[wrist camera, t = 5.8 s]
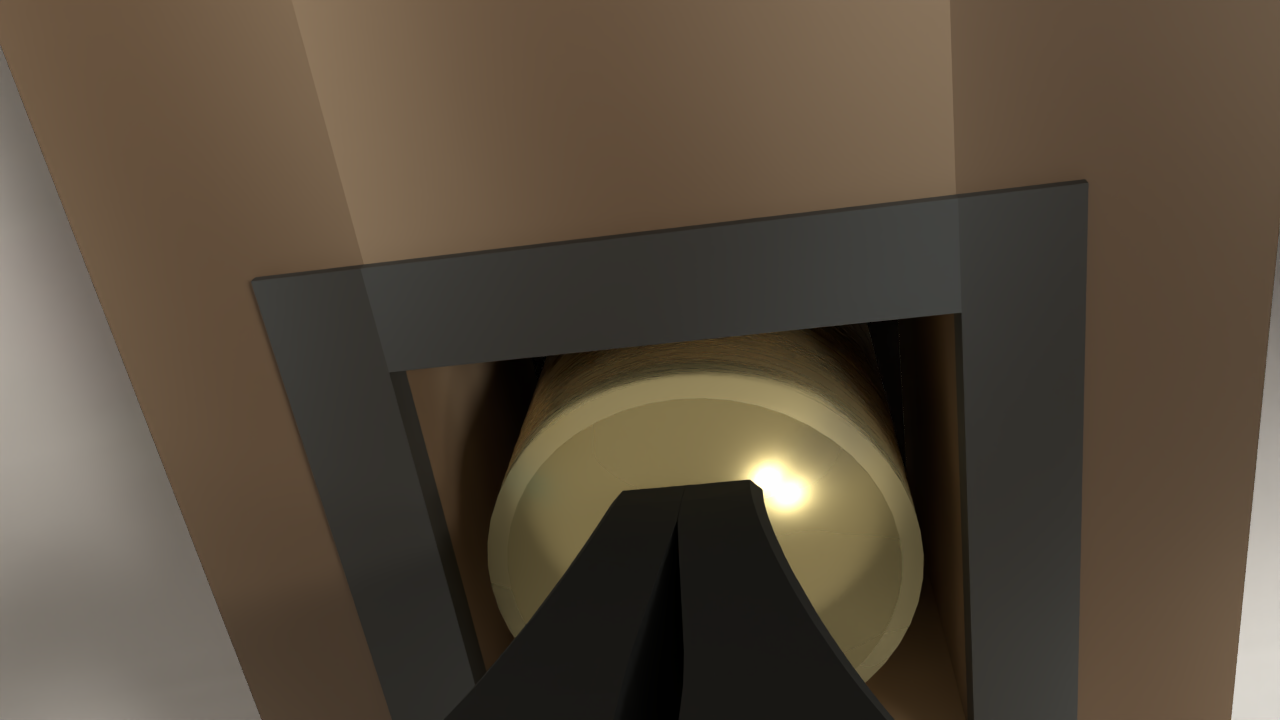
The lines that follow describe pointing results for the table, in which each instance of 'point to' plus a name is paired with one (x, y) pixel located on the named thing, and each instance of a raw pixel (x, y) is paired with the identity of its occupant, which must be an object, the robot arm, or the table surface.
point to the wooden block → (686, 298)
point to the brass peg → (723, 468)
